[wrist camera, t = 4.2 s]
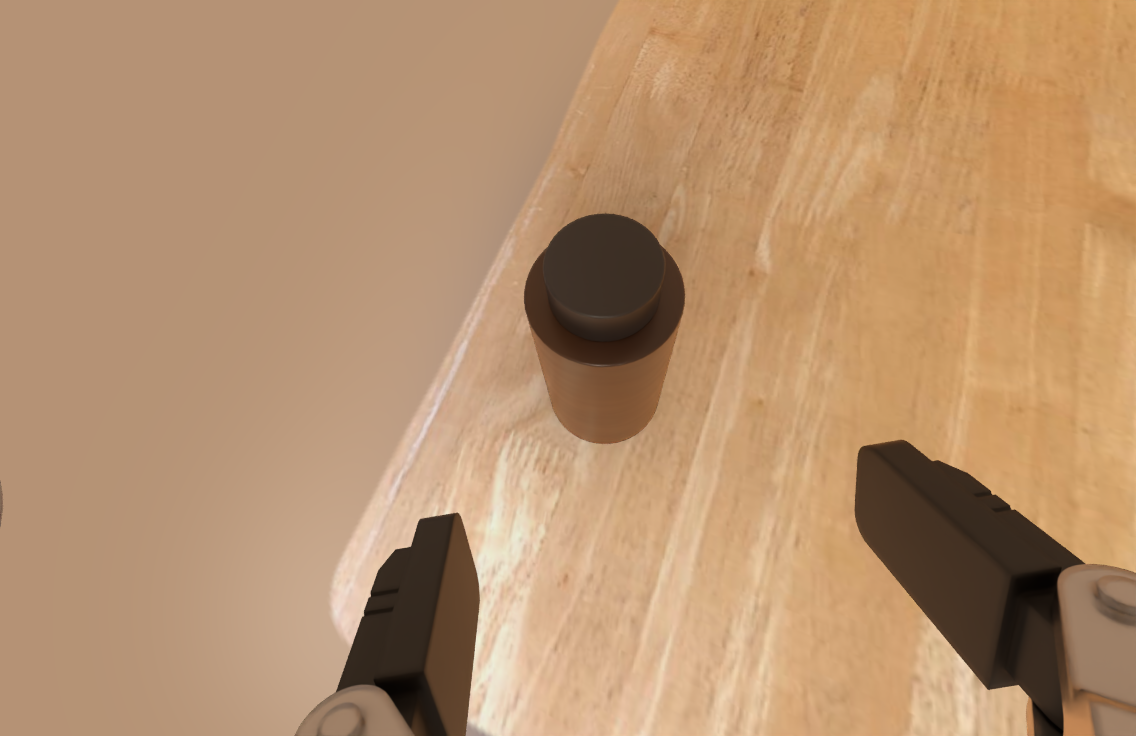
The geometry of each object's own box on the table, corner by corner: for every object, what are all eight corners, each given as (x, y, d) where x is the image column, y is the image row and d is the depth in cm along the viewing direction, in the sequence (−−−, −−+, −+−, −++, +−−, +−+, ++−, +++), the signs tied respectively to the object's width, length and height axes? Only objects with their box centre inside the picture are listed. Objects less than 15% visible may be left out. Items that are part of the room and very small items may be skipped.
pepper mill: (590, 466, 23) (580, 378, 13) (530, 379, 24) (484, 246, 15) (680, 403, 23) (730, 279, 14) (616, 323, 25) (623, 164, 16)
